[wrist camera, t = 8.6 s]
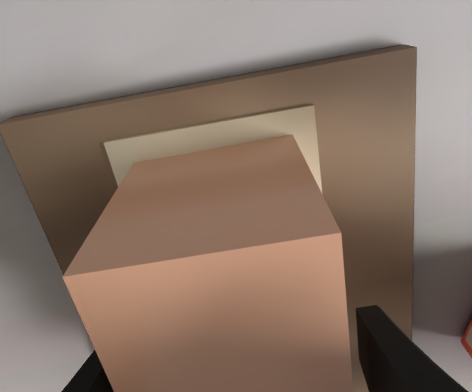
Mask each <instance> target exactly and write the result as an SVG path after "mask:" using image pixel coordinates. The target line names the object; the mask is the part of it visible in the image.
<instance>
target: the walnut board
mask: <svg viewBox="0 0 472 392" xmlns="http://www.w3.org/2000/svg"><path fill="white" fill-rule="evenodd" d="M416 65H417V47H414V46H409V45H399V46H394V47H388V48H383V49H378V50H372V51H367V52H361V53H356V54H351V55H345V56H340V57H334V58H329V59H324V60H318V61H313V62H308V63H302V64H297V65H291V66H286V67H281V68H275V69H270V70H264V71H259V72H254V73H248V74H243V75H238V76H232V77H227V78H221V79H216V80H211V81H205V82H200V83H194V84H189V85H184V86H178V87H173V88H168V89H162V90H157V91H151V92H146V93H141V94H135V95H130V96H124V97H119V98H114V99H108V100H103V101H98V102H92V103H87V104H81V105H76V106H71V107H65V108H60V109H54V110H49V111H44V112H38V113H33V114H28V115H22V116H17V117H12V118H10V119H8V120H6V121H4V122H2V123H0V133H1V135H2V137H3V140H4V142H5V144H6V146H7V149H8V151H9V153H10V155H11V158H12V160H13V162H14V164H15V167H16V169H17V171H18V173H19V176H20V178H21V180H22V182H23V184H24V187H25V189H26V191H27V193H28V196H29V198H30V200H31V202H32V205H33V207H34V209H35V211H36V214H37V216H38V218H39V220H40V223H41V225H42V227H43V229H44V232H45V234H46V236H47V238H48V241H49V243H50V245H51V247H52V250H53V252H54V254H55V256H56V259H57V261H58V263H59V265H60V267H61V270H62V272H63V274H64V273H65V272H66V270H67V269H68V267H69V265H70V264H71V262H72V261H73V259H74V257H75V256H76V254H77V253H78V251H79V249H80V248H81V246H82V245H83V243H84V241H85V240H86V238H87V237H88V235H89V233H90V232H91V230H92V229H93V227H94V225H95V224H96V222H97V221H98V219H99V217H100V216H101V214H102V212H103V211H104V209H105V208H106V206H107V204H108V203H109V201H110V200H111V198H112V196H113V195H114V193H115V192H116V190H117V188H118V187H119V185H120V184H121V182H122V180H123V179H124V177H125V176H126V174H127V172H128V171H129V169H130V168H131V166H132V164H133V163H136V162H141V161H147V160H153V159H158V158H164V157H170V156H175V155H181V154H187V153H192V152H198V151H204V150H209V149H215V148H221V147H226V146H232V145H238V144H243V143H249V142H255V141H261V140H266V139H272V138H278V137H283V136H289V135H293V136H294V138H295V140H296V142H297V144H298V146H299V148H300V150H301V152H302V154H303V156H304V158H305V160H306V162H307V164H308V166H309V168H310V170H311V172H312V174H313V176H314V179H315V181H316V183H317V185H318V187H319V189H320V191H321V193H322V195H323V197H324V199H325V201H326V203H327V205H328V207H329V209H330V211H331V213H332V215H333V217H334V219H335V221H336V223H337V225H338V227H339V229H340V231H341V235H342V249H343V262H344V275H345V288H346V302H347V315H348V328H349V341H350V354H351V368H352V381H353V392H369V390H368V387H367V384H366V381H365V377H364V374H363V371H362V367H361V364H360V361H359V354H358V338H357V322H356V308H359V307H366V306H372V305H378V306H379V307H380V308H381V309H382V310H383V311H384V312H385V313H386V314H387V315H388V317H389V318H390V319H391V320H392V321H393V322H394V323H395V324H396V325H397V326H398V327H399V328H400V329H401V330H402V331H403V332H404V334H405V335H406V336H407V337H408V338H409V339H410V340H411V341H412V298H413V240H414V181H415V123H416Z"/></svg>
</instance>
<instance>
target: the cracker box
mask: <svg viewBox="0 0 472 392" xmlns="http://www.w3.org/2000/svg"><path fill="white" fill-rule="evenodd" d="M461 343H462V345H463V346H464V347H465V349H466V350H467V352H468V353H469V355H470V356H471V357H472V319H471V321H470V323H469V325H468V327H467V329H466V331H465V333H464V335H463V337H462V338H461Z"/></svg>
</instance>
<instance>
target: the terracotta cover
mask: <svg viewBox="0 0 472 392" xmlns="http://www.w3.org/2000/svg"><path fill="white" fill-rule="evenodd" d="M63 280H64V282H65V284H66V286H67V289H68V291H69V293H70V295H71V297H72V300H73V302H74V304H75V306H76V309H77V311H78V313H79V315H80V317H81V320H82V322H83V324H84V326H85V328H86V331H87V333H88V335H89V337H90V340H91V342H92V344H93V346H94V348H95V351H96V353H97V355H98V357H99V360H100V362H101V364H102V366H103V368H104V371H105V373H106V375H107V377H108V379H109V382H110V384H111V386H112V388H113V391H114V392H353V381H352V368H351V354H350V341H349V328H348V315H347V302H346V288H345V275H344V262H343V249H342V235H341V231H340V229H339V227H338V225H337V223H336V221H335V219H334V217H333V215H332V213H331V211H330V209H329V207H328V205H327V203H326V201H325V199H324V197H323V195H322V193H321V191H320V189H319V187H318V185H317V183H316V181H315V179H314V176H313V174H312V172H311V170H310V168H309V166H308V164H307V162H306V160H305V158H304V156H303V154H302V152H301V150H300V148H299V146H298V144H297V142H296V140H295V138H294V136H293V135H289V136H283V137H278V138H272V139H266V140H261V141H255V142H249V143H243V144H238V145H232V146H226V147H221V148H215V149H209V150H204V151H198V152H192V153H187V154H181V155H175V156H170V157H164V158H158V159H153V160H147V161H141V162H136V163H133V164H132V166H131V168H130V169H129V171H128V172H127V174H126V176H125V177H124V179H123V180H122V182H121V184H120V185H119V187H118V188H117V190H116V192H115V193H114V195H113V196H112V198H111V200H110V201H109V203H108V204H107V206H106V208H105V209H104V211H103V212H102V214H101V216H100V217H99V219H98V221H97V222H96V224H95V225H94V227H93V229H92V230H91V232H90V233H89V235H88V237H87V238H86V240H85V241H84V243H83V245H82V246H81V248H80V249H79V251H78V253H77V254H76V256H75V257H74V259H73V261H72V262H71V264H70V265H69V267H68V269H67V270H66V272H65V273H64V275H63Z"/></svg>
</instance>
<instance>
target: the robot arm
mask: <svg viewBox="0 0 472 392" xmlns="http://www.w3.org/2000/svg"><path fill="white" fill-rule="evenodd" d="M356 322H357V338H358V354H359V361H360V364H361V367H362V371H363V374H364V377H365V381H366V384H367V387H368V390H369V392H468V391H467V390H466V389H464V388H463V387H462V386H461V385H460V384H458V383H457V382H456V381H455V380H454V379H453V378H451V377H450V376H449V375H448V374H447V373H446V372H444V371H443V370H442V369H441V368H440V367H439V366H438V365H437V364H436V363H434V362H433V361H432V360H431V359H430V358H429V357H428V356H427V355H426V354H425V353H424V352H423V351H422V350H421V349H420V348H419V347H417V346H416V345H415V344H414V343H413V342H412V341H411V340H410V339H409V338H408V337H407V336H406V335H405V334H404V332H403V331H402V330H401V329H400V328H399V327H398V326H397V325H396V324H395V323H394V322H393V321H392V320H391V319H390V318H389V317H388V315H387V314H386V313H385V312H384V311H383V310H382V309H381V308H380V307H379V306H378V305H372V306H366V307H359V308H356ZM62 392H114V391H113V388H112V386H111V384H110V382H109V379H108V377H107V375H106V373H105V371H104V368H103V366H102V364H101V362H100V360H99V357H98V355H97V353H96V351H95V350H94V351H93V353H92V354H91V355H90V357H89V358H88V359H87V360H86V362H85V363H84V364H83V365H82V367H81V368H80V369H79V371H78V372H77V373H76V374H75V376H74V377H73V378H72V379H71V381H70V382H69V383H68V384H67V386H66V387H65V388H64V389H63V391H62Z"/></svg>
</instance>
